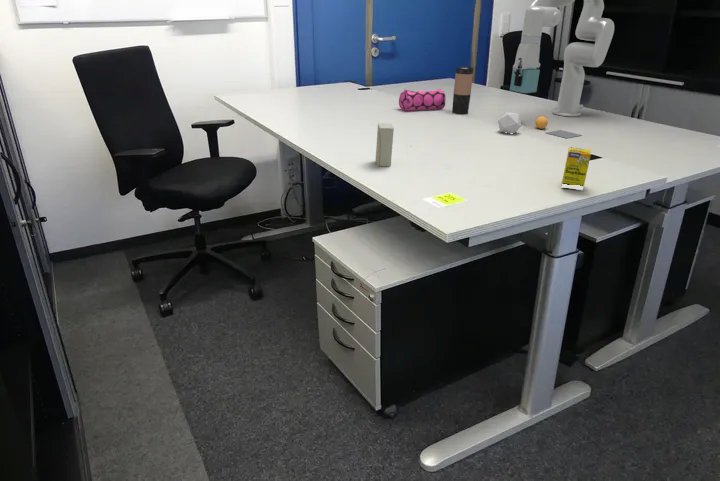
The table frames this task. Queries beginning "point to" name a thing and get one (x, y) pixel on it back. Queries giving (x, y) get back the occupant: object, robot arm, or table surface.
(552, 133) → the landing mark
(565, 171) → the supplement box
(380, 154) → the skincare box
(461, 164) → the table surface
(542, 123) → the ball
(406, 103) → the pencil case
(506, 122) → the die
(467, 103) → the travel mug
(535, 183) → the table surface
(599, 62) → the robot arm
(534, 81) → the teal toy cube
